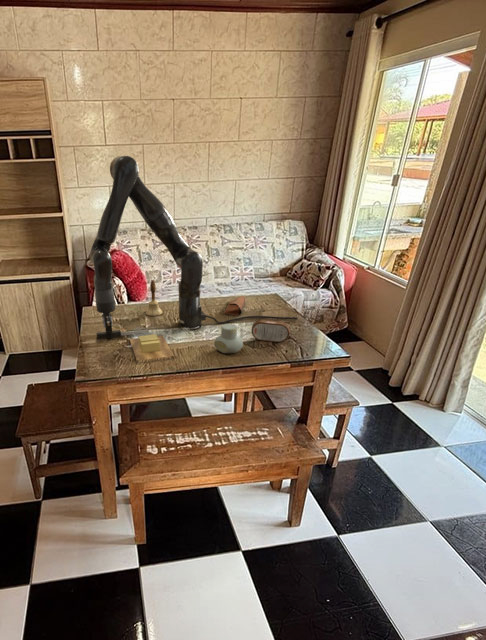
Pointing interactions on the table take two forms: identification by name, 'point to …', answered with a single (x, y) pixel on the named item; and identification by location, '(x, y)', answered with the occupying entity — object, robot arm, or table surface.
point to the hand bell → (153, 302)
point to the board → (163, 352)
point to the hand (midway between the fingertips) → (109, 338)
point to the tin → (270, 330)
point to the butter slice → (150, 346)
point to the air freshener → (228, 339)
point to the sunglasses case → (235, 306)
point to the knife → (119, 333)
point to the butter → (147, 338)
